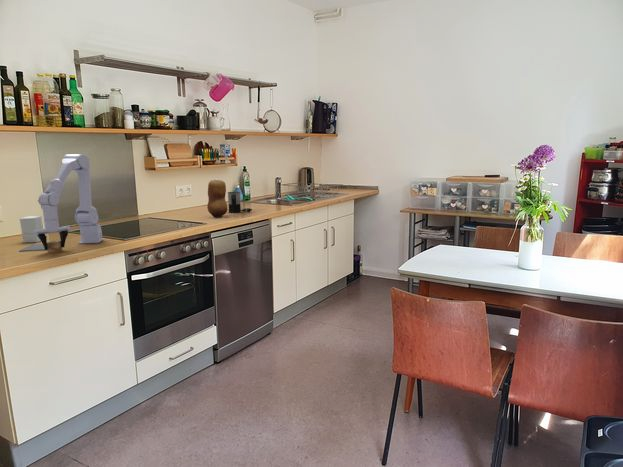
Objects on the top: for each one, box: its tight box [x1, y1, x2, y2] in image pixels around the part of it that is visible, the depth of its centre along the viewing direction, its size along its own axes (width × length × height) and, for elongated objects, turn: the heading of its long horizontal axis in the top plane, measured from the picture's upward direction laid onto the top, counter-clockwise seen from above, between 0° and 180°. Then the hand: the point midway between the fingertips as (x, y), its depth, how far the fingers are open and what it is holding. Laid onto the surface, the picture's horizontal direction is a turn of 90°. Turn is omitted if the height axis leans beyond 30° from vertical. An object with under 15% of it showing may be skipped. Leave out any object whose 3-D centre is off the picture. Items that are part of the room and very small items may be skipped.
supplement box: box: [19, 215, 44, 244], centre depth 235 cm, size 7×7×13 cm
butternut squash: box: [206, 179, 229, 219], centre depth 306 cm, size 14×13×25 cm
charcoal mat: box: [18, 243, 46, 253], centre depth 220 cm, size 14×14×1 cm
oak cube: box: [46, 240, 63, 254], centre depth 210 cm, size 5×5×5 cm
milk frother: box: [226, 191, 253, 214], centre depth 329 cm, size 14×16×15 cm
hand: (54, 248), depth 210 cm, fingers closed on oak cube, 6 cm apart
